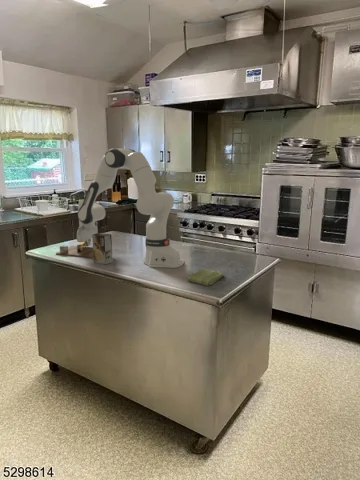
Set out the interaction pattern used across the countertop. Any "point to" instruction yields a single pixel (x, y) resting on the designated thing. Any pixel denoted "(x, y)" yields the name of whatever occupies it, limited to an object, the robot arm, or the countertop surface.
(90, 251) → the board
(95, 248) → the coffee box
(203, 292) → the countertop surface
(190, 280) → the washcloth
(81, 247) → the bar
